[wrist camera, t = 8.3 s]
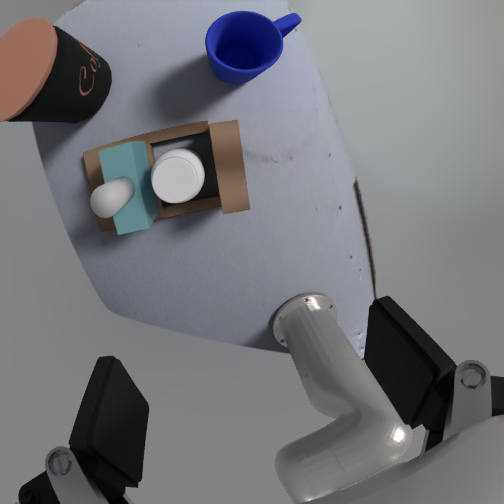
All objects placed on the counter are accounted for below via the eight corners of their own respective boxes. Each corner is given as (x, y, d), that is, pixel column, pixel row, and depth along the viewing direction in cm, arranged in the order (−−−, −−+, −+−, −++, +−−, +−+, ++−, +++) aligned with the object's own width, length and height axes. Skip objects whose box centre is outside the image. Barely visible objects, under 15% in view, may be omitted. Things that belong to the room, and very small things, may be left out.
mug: (296, 59, 31) (324, 38, 22) (228, 101, 33) (236, 87, 24) (263, 19, 28) (280, -11, 19) (193, 59, 29) (189, 34, 20)
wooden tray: (241, 200, 39) (251, 218, 30) (105, 228, 37) (82, 252, 28) (229, 118, 34) (236, 110, 25) (87, 152, 32) (57, 157, 23)
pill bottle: (191, 197, 37) (185, 221, 27) (154, 177, 35) (134, 193, 25) (213, 160, 36) (216, 169, 26) (175, 139, 34) (162, 140, 23)
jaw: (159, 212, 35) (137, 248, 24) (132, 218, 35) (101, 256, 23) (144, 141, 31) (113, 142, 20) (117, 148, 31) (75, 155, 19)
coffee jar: (121, 105, 30) (59, 84, 14) (60, 134, 30) (-19, 142, 13) (108, 45, 26) (53, -3, 9) (49, 76, 25) (-23, 58, 9)
